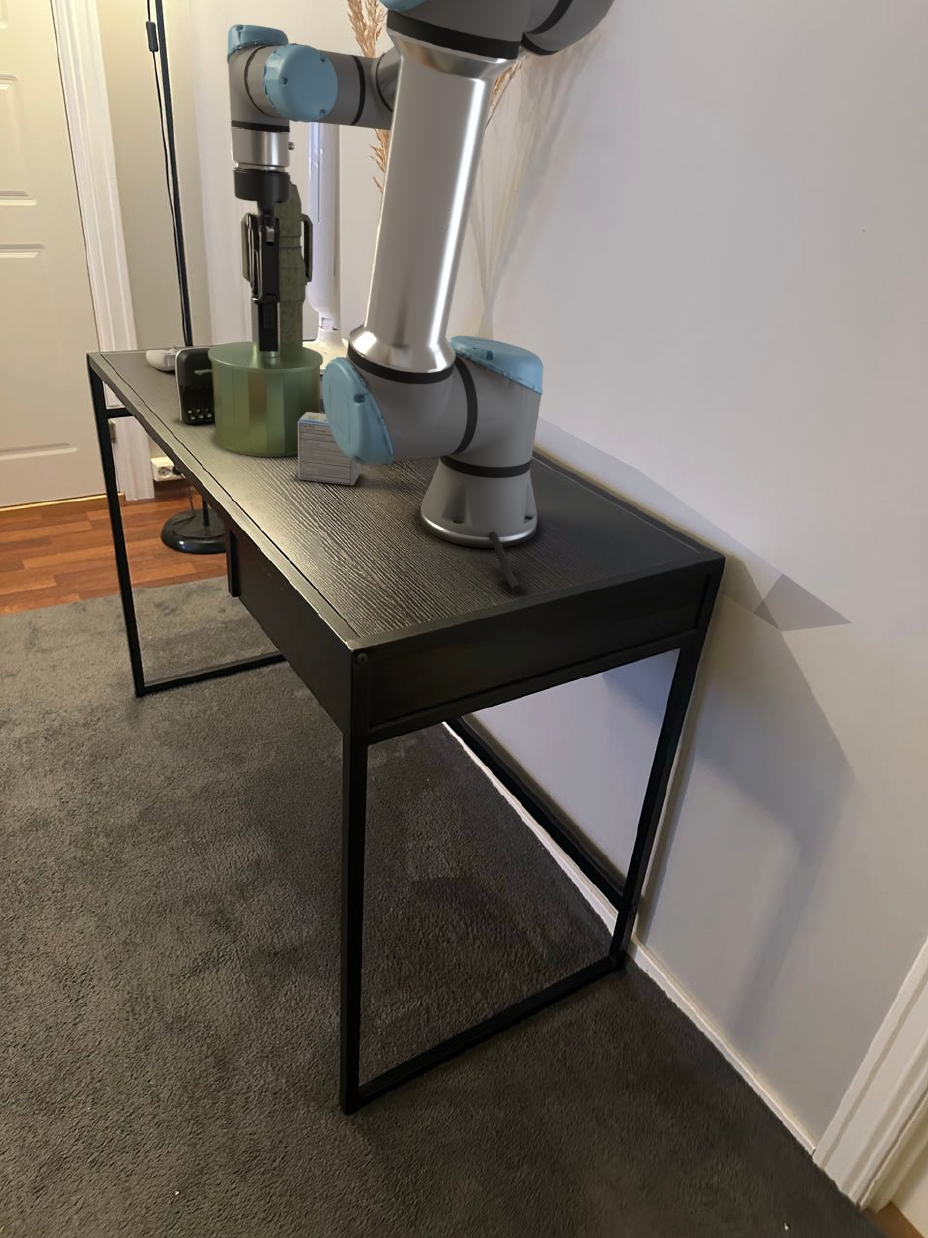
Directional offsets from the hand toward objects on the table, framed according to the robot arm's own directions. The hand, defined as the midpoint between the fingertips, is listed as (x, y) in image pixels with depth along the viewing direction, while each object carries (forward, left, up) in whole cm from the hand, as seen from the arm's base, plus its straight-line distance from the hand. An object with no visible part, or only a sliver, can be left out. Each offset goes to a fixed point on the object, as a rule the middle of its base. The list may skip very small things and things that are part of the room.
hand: (266, 346), depth 123 cm
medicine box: (-17, -6, -14) cm, 23 cm away
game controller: (+42, +9, -14) cm, 45 cm away
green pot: (0, 0, -14) cm, 14 cm away
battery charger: (+10, +9, -14) cm, 19 cm away
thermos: (+20, -5, -14) cm, 25 cm away
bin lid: (0, 0, -2) cm, 2 cm away
